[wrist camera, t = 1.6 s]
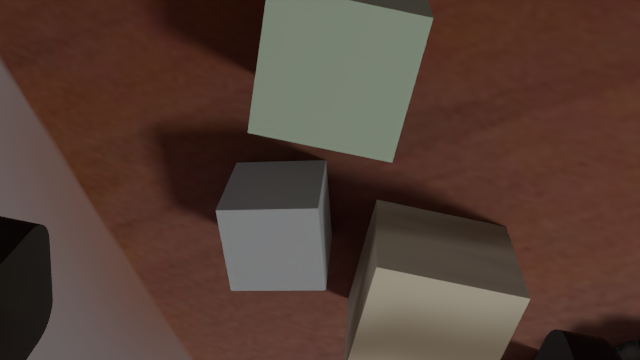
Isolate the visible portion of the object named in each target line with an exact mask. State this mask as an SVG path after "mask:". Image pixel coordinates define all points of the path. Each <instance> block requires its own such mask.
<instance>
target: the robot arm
mask: <svg viewBox="0 0 640 360" xmlns="http://www.w3.org/2000/svg"><path fill="white" fill-rule="evenodd" d="M51 309H52V279H51V261H50V243H49V234H48V230H47V228H46V227H45V226H44V225H40V224H36V223H31V222H26V221H21V220H15V219H11V218H6V217H1V216H0V360H26V359H27V358H28V356H29V355H30V353H31V352H32V350H33V349H34V348H35V345H37V343H38V342H39V340H40V338H41V337H42V335H43V333H44V331H45V329H46V327H47V324H48V321H49V318H50V314H51ZM535 360H617V358H616V356H615V354H614V352H613V349H612V347H611V346H610V344H609V343H608V342H607V341H606V340H604V339H602V338H597V337H592V336H587V335H582V334H577V333H572V332H567V331H562V330H553V331H551V332H550V333H549V334H548V335H547V337H546V339H545V340H544V342H543V344H542V346H541V348H540V350H539V352H538V354H537V356H536V358H535Z"/></svg>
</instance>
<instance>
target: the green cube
mask: <svg viewBox="0 0 640 360" xmlns="http://www.w3.org/2000/svg"><path fill="white" fill-rule="evenodd" d="M432 21H433V15H432V12H431V9H430V6H429V3H428V0H266V2H265V9H264V16H263V24H262V31H261V38H260V45H259V53H258V60H257V67H256V75H255V82H254V89H253V96H252V104H251V111H250V118H249V126H248V133H250V134H255V135H260V136H265V137H270V138H275V139H279V140H284V141H289V142H294V143H299V144H304V145H309V146H313V147H318V148H323V149H328V150H333V151H338V152H342V153H347V154H352V155H357V156H362V157H367V158H372V159H376V160H381V161H386V162H391V163H392V161H393V158H394V154H395V151H396V147H397V144H398V140H399V137H400V133H401V130H402V126H403V123H404V119H405V116H406V112H407V109H408V105H409V102H410V98H411V95H412V91H413V88H414V84H415V80H416V77H417V73H418V70H419V66H420V63H421V59H422V56H423V52H424V49H425V45H426V42H427V38H428V35H429V31H430V28H431V24H432Z"/></svg>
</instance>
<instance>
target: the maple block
mask: <svg viewBox="0 0 640 360" xmlns="http://www.w3.org/2000/svg"><path fill="white" fill-rule="evenodd" d="M529 301H530V296H529V293H528V290H527V287H526V284H525V281H524V278H523V275H522V272H521V269H520V266H519V263H518V260H517V257H516V255H515V252H514V249H513V246H512V243H511V240H510V237H509V234H508V231H507V228H506V227H505V226H500V225H495V224H491V223H486V222H481V221H476V220H472V219H467V218H462V217H457V216H453V215H448V214H443V213H438V212H434V211H429V210H424V209H419V208H415V207H410V206H405V205H400V204H396V203H391V202H386V201H381V200H376V203H375V207H374V210H373V214H372V217H371V221H370V224H369V228H368V231H367V235H366V238H365V242H364V245H363V249H362V252H361V256H360V259H359V263H358V266H357V270H356V273H355V277H354V280H353V284H352V287H351V291H350V294H349V298H348V310H347V326H346V342H345V358H344V360H500V359H501V357H502V355H503V353H504V351H505V349H506V347H507V345H508V343H509V341H510V339H511V337H512V335H513V333H514V331H515V329H516V327H517V325H518V323H519V321H520V319H521V317H522V315H523V313H524V311H525V309H526V307H527V305H528V303H529Z"/></svg>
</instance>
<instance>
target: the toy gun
mask: <svg viewBox="0 0 640 360" xmlns="http://www.w3.org/2000/svg"><path fill="white" fill-rule="evenodd" d="M614 354H615V356H616V358H617V360H640V341H637V340H633V341H630V342H627V343H624V344H621V345H618V346H616V348H615V351H614Z"/></svg>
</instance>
